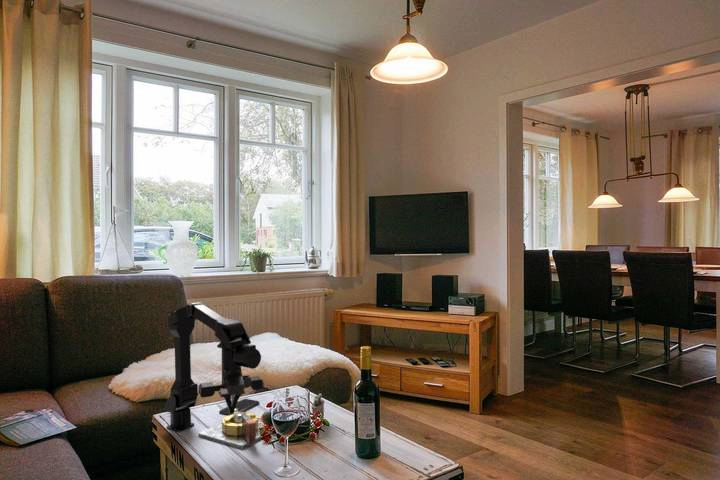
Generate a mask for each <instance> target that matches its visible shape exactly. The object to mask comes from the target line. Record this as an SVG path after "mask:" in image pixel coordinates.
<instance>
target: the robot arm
mask: <svg viewBox="0 0 720 480" xmlns="http://www.w3.org/2000/svg"><path fill="white" fill-rule="evenodd" d="M196 321H199V322H200V323H202V324H203V325H205V326H206V327H207V328H210V329H211V330H212V331H214V336H215V337H216V338H217V339H218V340H219V341H220V342H219V343H218V344H217V345H216V347H217V348H219V349H221V383H219V384H214V383H213V381H208V382H207V381H206V382H201V383H199V385H198V383H195V382H194V381H193V379H192V365H191V364H192V363H191V362H192V361H191V335H192V333H193V331H194V329H195V327H196V326H195V325H196ZM167 323H168V330H169V331H170V333H171V334H172V336H173V338H174V342H173V343H174V370H175V371H174V373H175V374H174V375H175V376H174V377H175V380H174V382H173V383H172V385H171V388H170V390H169V391H170V392H169V393H170V394H169V397H168V399H167V400H166V402H165V403H164V404H163V407H164V410H165V412H168V413H170V414H169V415H170V417H169V418H170V421H169V423H170V424H168V425H167V426H166V429H169V430H172V431H176V432H182V431H183V430H186V429H188V428H191V427H193V426H195V423H194V422H192V418H191V417H192V413H191V408H192V407H193V408H194V407H195V406H196V403H197V399H198V396H200V398H204V399H205V398H209V397H213V396H214V395H215V394H216V392H217V394H218V395H219V397H220V398H223V399H224V400H225V401H224V402H225V404H226V407H228V409H229V412H230V414H233V413H234V410H235V407H236V404H237V402H238V401H239V399H240V397H241V396H242V395H245V394H246V391H245V389H248V388H251V389H252V390H253V391H256V390H257V391H258V390H263V389H264V380H263V378H261V377H260V376H259V375H252V376H251V375H250V374H246V375H243V373H242V367H243V368H246V369H251V370H254V369H256V368H258V367H259V366H260V364H261V362H262V354H261V352H260V351H259V350H258V348H257V347H256V344H252V341H251V339H250V336H249V335H248V333H247V330H246V329H245V327H244V324H243V322H241V321H239V320H236V319H231V318H226V317H224V316H222V315H220V314H219V313H217V312H215V311H214V310H212V309H211V308H209V307H208V306H206V305H205V303H204V302H201V301H199V302H191V303H188V304H186V305H185V306H183V307H181V308H179V309H177V310H173V311H171V312H170V313H169V314H168V317H167Z"/></svg>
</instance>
